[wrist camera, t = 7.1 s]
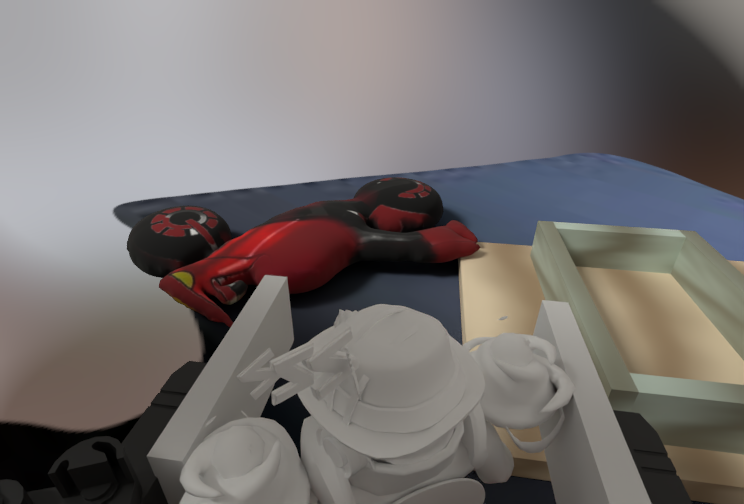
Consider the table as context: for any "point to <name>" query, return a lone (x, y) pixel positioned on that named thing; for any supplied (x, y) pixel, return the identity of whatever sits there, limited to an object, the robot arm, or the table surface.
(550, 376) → the hat wearing toy figure
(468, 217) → the table surface
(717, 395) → the jig board
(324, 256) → the toy motorcycle
